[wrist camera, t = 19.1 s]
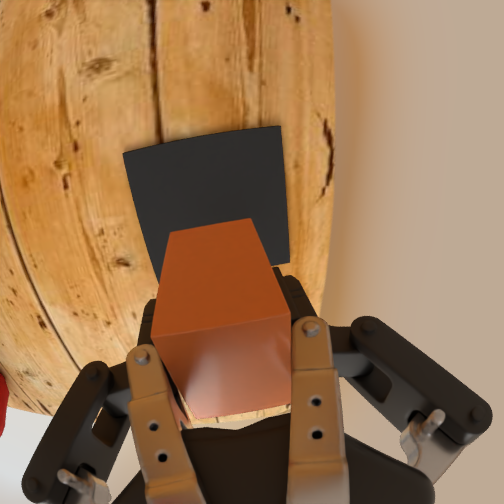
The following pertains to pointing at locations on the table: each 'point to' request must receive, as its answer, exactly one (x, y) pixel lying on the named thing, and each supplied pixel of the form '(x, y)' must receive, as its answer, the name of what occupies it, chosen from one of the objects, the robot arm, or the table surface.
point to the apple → (3, 402)
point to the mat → (211, 188)
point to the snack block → (223, 321)
